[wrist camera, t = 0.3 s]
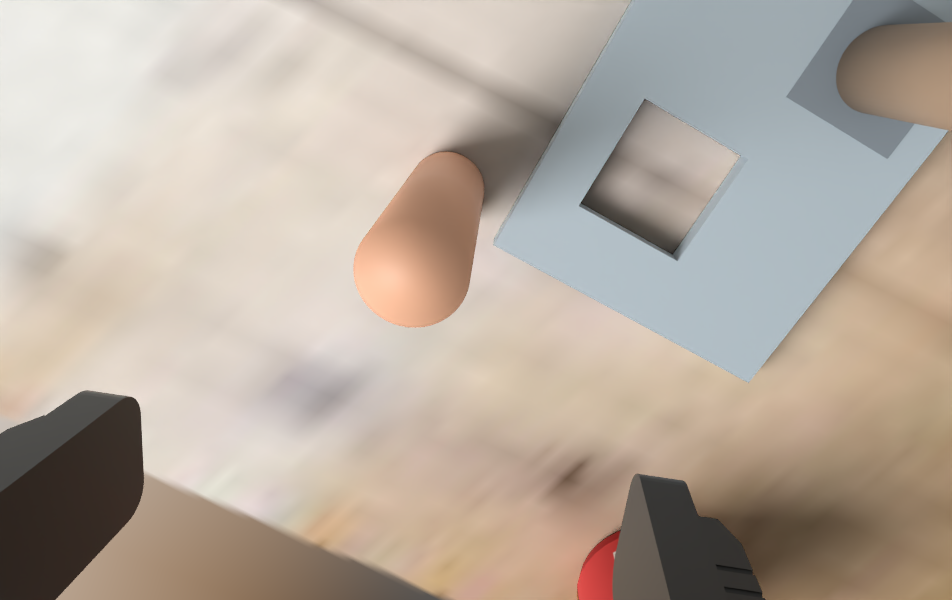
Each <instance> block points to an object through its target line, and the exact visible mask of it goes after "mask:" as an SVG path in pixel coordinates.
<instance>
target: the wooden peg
mask: <svg viewBox="0 0 952 600" xmlns="http://www.w3.org/2000/svg"><path fill="white" fill-rule="evenodd" d="M483 197H484V182H483V178H482V175H481V173H480V171H479V170H478V168H477V167H476V165H475V164H474V163H473V162H472V161H471V160H469V159H468V158H466V157H465V156H463V155H461V154H458V153H455V152H446V151H445V152H438V153H434V154H432V155H430V156H428V157H426V158H425V159H423V160H422V161H421V162H420V163H419V164H418V165H417V167H416V168H415V169H414V171H413V172H412V173H411V175H410V176H409V177H408V179H407V180H406V182H405V183H404V184H403V186H402V187H401V188H400V190H399V191H398V192H397V194H396V195H395V196H394V198H393V199H392V201H391V202H390V203H389V205H388V206H387V207H386V209H385V210H384V211H383V213H382V214H381V215H380V217H379V218H378V219H377V221H376V222H375V224H374V225H373V226H372V228H371V229H370V230H369V232H368V233H367V234H366V236H365V237H364V238H363V240H362V242H361V243H360V245H359V247H358V249H357V252H356V255H355V259H354V279H355V283H356V287H357V289H358V292H359V294H360V296H361V297H362V299H363V301H364V302H365V303H366V304H367V306H368V307H369V308H370V309H371V310H372V311H373V312H374V313H376V314H377V315H378V316H379V317H381V318H383V319H384V320H386V321H388V322H391V323H393V324H396V325H400V326H405V327H425V326H430V325H433V324H436V323H438V322H440V321H442V320H444V319H446V318H447V317H449V316H450V315H451V314H452V313H454V312H455V311H456V310H457V308H458V307H459V306H460V305H461V303H462V302H463V300H464V298H465V296H466V294H467V291H468V288H469V283H470V277H471V271H472V265H473V258H474V252H475V246H476V240H477V234H478V228H479V222H480V216H481V209H482V203H483Z"/></svg>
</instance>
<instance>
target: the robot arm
mask: <svg viewBox="0 0 952 600" xmlns="http://www.w3.org/2000/svg"><path fill="white" fill-rule="evenodd" d="M143 483H144V473H143V452H142V431H141V412H140V407H139V404H138V402H137V401H136V399H134V398H133V397H128V396H121V395H115V394H108V393H101V392H95V391H82V392H80V393H78V394H77V395H75V396H74V397H72V398H71V399H69V400H68V401H66V402H65V403H63V404H62V405H60V406H59V407H57V408H56V409H55V410H53V411H52V412H50V413H49V414H47V415H46V416H41V417H39V418H36V419H33V420H31V421H28V422H25V423H23V424H20V425H18V426H15V427H12V428H10V429H7V430H6V431H4V432H3V433H1V434H0V600H55V599H56V598H57V597H58V596H59V595H60V594H61V593H62V592H63V591H64V590H65V589H66V588H67V587H68V586H69V585H70V583H71V582H72V581H73V580H74V579H75V578H76V577H77V576H78V575H79V574H80V573H81V572H82V571H83V570H84V568H85V567H86V566H87V565H88V564H89V563H90V562H91V561H92V559H94V558H95V557H96V556H97V554H98V553H99V552H100V551H101V550H102V549H103V548H104V547H105V546H106V545H107V544H108V543H109V542H110V540H111V539H112V538H113V537H114V536H115V535H116V534H117V533H118V532H119V531H120V530H121V529H122V527H124V526H125V524H126V523H127V522H128V521H129V520H130V519H131V517H132V516H133V514H134V513H135V511H136V509H137V507H138V504H139V502H140V499H141V496H142V491H143V485H144V484H143ZM752 571H753V570H752V567H751V565H750V563H749V560H748V558H747V556H746V554H745V551H744V549H743V547H742V544H741V543H740V542H739V541H738V540H737V539H736V538H735V537H734V536H733V535H732V534H731V533H730V531H729V530H728V529H727V528H726V527H725V526H724V525H723V524H722V523H721V522H720V521H719V520H718V519H713V518H707V517H700V516H698V514H697V512H696V509H695V506H694V503H693V501H692V498H691V495H690V492H689V489H688V487H687V484H686V483H685V482H684V481H682V480H675V479H668V478H662V477H655V476H648V475H642V474H635V475H634V477H633V479H632V482H631V485H630V490H629V494H628V499H627V503H626V508H625V512H624V517H623V522H622V526H621V531H620V535H619V540H618V545H617V549H616V554H615V559H614V567H613V581H612V592H613V600H765V598H762V591H761V588H760V586H759V584H758V581H757V579H756V577H755V575H753V574H752Z"/></svg>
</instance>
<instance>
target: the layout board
mask: <svg viewBox="0 0 952 600" xmlns="http://www.w3.org/2000/svg"><path fill="white" fill-rule="evenodd" d="M644 99H646V100H648V101H649V102H651V103H653V104H654V105H656V106H658V107H659V108H661V109H663V110H664V111H666V112H668V113H669V114H671V115H673V116H675V117H676V118H678V119H680V120H681V121H683V122H685V123H686V124H688V125H690V126H691V127H693V128H695V129H696V130H698V131H700V132H702V133H703V134H705V135H707V136H708V137H710V138H712V139H713V140H715V141H717V142H718V143H720V144H722V145H723V146H725V147H727V148H729V149H730V150H732V151H734V152H735V153H737V154H739V155H740V158H739V159H738V161H737V162H736V163H735V165H734V166H733V168H732V169H731V171H730V172H729V174H728V175H727V176H726V178H725V179H724V181H723V182H722V184H721V185H720V187H719V188H718V190H717V191H716V192H715V194H714V195H713V197H712V198H711V200H710V201H709V203H708V204H707V206H706V207H705V208H704V210H703V211H702V213H701V214H700V216H699V217H698V219H697V220H696V222H695V223H694V224H693V226H692V227H691V229H690V230H689V232H688V233H687V235H686V236H685V238H684V239H683V240H682V242H681V243H680V245H679V246H678V248H677V249H676V251H675V252H674V254H673V255H672V254H670V253H669V252H667V251H665V250H663V249H661V248H660V247H658V246H656V245H654V244H652V243H651V242H649V241H647V240H645V239H644V238H642V237H640V236H638V235H636V234H635V233H633V232H631V231H629V230H627V229H626V228H624V227H622V226H620V225H619V224H617V223H615V222H613V221H611V220H610V219H608V218H606V217H604V216H603V215H601V214H599V213H597V212H595V211H594V210H592V209H590V208H588V207H586V206H585V205H583V204H581V201H582V200H583V198H584V196H585V195H586V193H587V192H588V190H589V188H590V187H591V185H592V183H593V182H594V180H595V179H596V177H597V175H598V174H599V172H600V170H601V169H602V167H603V166H604V164H605V162H606V161H607V159H608V157H609V156H610V154H611V153H612V151H613V149H614V148H615V146H616V144H617V143H618V141H619V140H620V138H621V136H622V135H623V133H624V131H625V130H626V128H627V127H628V125H629V123H630V122H631V120H632V118H633V117H634V115H635V113H636V112H637V110H638V109H639V107H640V105H641V104H642V102H643V100H644ZM948 130H949V131H952V0H632V1H631V2H630V4H629V6H628V8H627V9H626V11H625V13H624V15H623V16H622V18H621V20H620V21H619V23H618V25H617V27H616V28H615V30H614V32H613V34H612V35H611V37H610V39H609V41H608V42H607V44H606V46H605V47H604V49H603V51H602V53H601V54H600V56H599V58H598V60H597V61H596V63H595V65H594V67H593V68H592V70H591V72H590V73H589V75H588V77H587V79H586V80H585V82H584V84H583V86H582V87H581V89H580V91H579V92H578V94H577V96H576V98H575V99H574V101H573V103H572V105H571V106H570V108H569V110H568V112H567V113H566V115H565V117H564V118H563V120H562V122H561V124H560V125H559V127H558V129H557V131H556V132H555V134H554V136H553V138H552V139H551V141H550V143H549V144H548V146H547V148H546V150H545V151H544V153H543V155H542V157H541V158H540V160H539V162H538V164H537V165H536V167H535V169H534V170H533V172H532V174H531V176H530V177H529V179H528V181H527V183H526V184H525V186H524V188H523V189H522V191H521V193H520V195H519V196H518V198H517V200H516V202H515V203H514V205H513V207H512V209H511V210H510V212H509V214H508V215H507V217H506V219H505V221H504V222H503V224H502V226H501V228H500V229H499V231H498V233H497V235H496V236H495V238H494V244H493V245H494V246H496V247H498V248H500V249H502V250H503V251H505V252H507V253H509V254H511V255H513V256H515V257H516V258H518V259H520V260H522V261H524V262H526V263H528V264H529V265H531V266H533V267H535V268H537V269H539V270H540V271H542V272H544V273H546V274H548V275H550V276H552V277H553V278H555V279H557V280H559V281H561V282H563V283H565V284H566V285H568V286H570V287H572V288H574V289H576V290H578V291H579V292H581V293H583V294H585V295H587V296H589V297H590V298H592V299H594V300H596V301H598V302H600V303H602V304H603V305H605V306H607V307H609V308H611V309H613V310H615V311H616V312H618V313H620V314H622V315H624V316H626V317H628V318H629V319H631V320H633V321H635V322H637V323H639V324H640V325H642V326H644V327H646V328H648V329H650V330H652V331H653V332H655V333H657V334H659V335H661V336H663V337H665V338H666V339H668V340H670V341H672V342H674V343H676V344H678V345H679V346H681V347H683V348H685V349H687V350H689V351H691V352H692V353H694V354H696V355H698V356H700V357H702V358H703V359H705V360H707V361H709V362H711V363H713V364H715V365H716V366H718V367H720V368H722V369H724V370H726V371H728V372H729V373H731V374H733V375H735V376H737V377H739V378H741V379H742V380H744V381H746V382H748V383H749V382H750V380H751V379H752V378H753V377H754V375H755V374H756V373H757V372H758V370H759V369H760V368H761V366H762V365H763V364H764V363H765V361H766V360H767V359H768V358H769V356H770V355H771V354H772V353H773V351H774V350H775V349H776V348H777V346H778V345H779V344H780V342H781V341H782V340H783V339H784V337H785V336H786V335H787V334H788V332H789V331H790V330H791V329H792V327H793V326H794V325H795V324H796V322H797V321H798V320H799V319H800V317H801V316H802V315H803V313H804V312H805V311H806V310H807V308H808V307H809V306H810V305H811V303H812V302H813V301H814V300H815V298H816V297H817V296H818V295H819V293H820V292H821V291H822V289H823V288H824V287H825V286H826V284H827V283H828V282H829V281H830V279H831V278H832V277H833V276H834V274H835V273H836V272H837V271H838V269H839V268H840V267H841V265H842V264H843V263H844V262H845V260H846V259H847V258H848V257H849V255H850V254H851V253H852V252H853V250H854V249H855V248H856V247H857V245H858V244H859V243H860V242H861V240H862V239H863V238H864V236H865V235H866V234H867V233H868V231H869V230H870V229H871V228H872V226H873V225H874V224H875V223H876V221H877V220H878V219H879V218H880V216H881V215H882V214H883V212H884V211H885V210H886V209H887V207H888V206H889V205H890V204H891V202H892V201H893V200H894V199H895V197H896V196H897V195H898V194H899V192H900V191H901V190H902V189H903V187H904V186H905V185H906V183H907V182H908V181H909V180H910V178H911V177H912V176H913V175H914V173H915V172H916V171H917V170H918V168H919V167H920V166H921V165H922V163H923V162H924V161H925V159H926V158H927V157H928V156H929V154H930V153H931V152H932V151H933V149H934V148H935V147H936V146H937V144H938V143H939V142H940V141H941V139H942V138H943V137H944V136H945V134H946V133H947V132H948Z"/></svg>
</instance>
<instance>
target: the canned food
mask: <svg viewBox="0 0 952 600" xmlns="http://www.w3.org/2000/svg"><path fill="white" fill-rule="evenodd" d="M619 535H620V531H618V532H616V533H614V534H612V535H610V536H609V537H607V538H605V539H604V540H603V541H601V542H600V543H599V544H598V545H596V546H595V548H594V549H593V550H592V551H591V552H590V553H589V555H588V556H587V558H586V560H585V562H584V564H583V566H582V570H581V573H580V577H579V581H578V584H577V598H578V600H613V592H612V581H613V567H614V559H615V554H616V549H617V545H618V540H619Z"/></svg>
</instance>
